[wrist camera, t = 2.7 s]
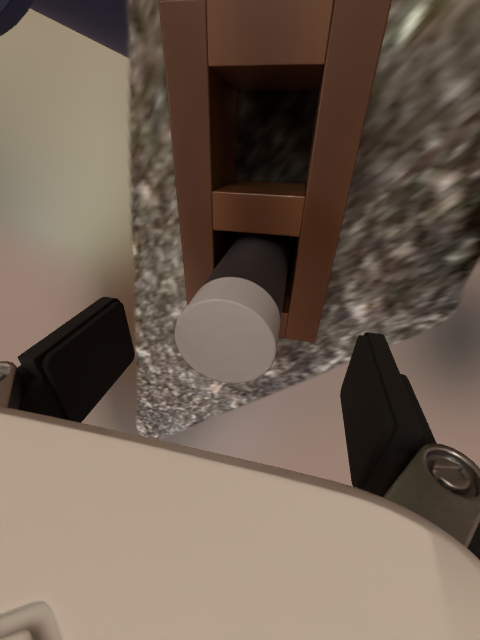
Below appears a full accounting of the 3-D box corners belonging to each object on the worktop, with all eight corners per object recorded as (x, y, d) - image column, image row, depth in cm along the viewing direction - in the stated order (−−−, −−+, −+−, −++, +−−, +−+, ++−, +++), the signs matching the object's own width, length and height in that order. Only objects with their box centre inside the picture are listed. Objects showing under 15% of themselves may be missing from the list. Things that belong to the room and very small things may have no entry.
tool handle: (239, 266, 22) (179, 375, 12) (240, 215, 20) (168, 293, 9) (287, 271, 22) (271, 391, 11) (294, 219, 20) (282, 306, 9)
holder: (212, 288, 24) (188, 325, 19) (204, 45, 16) (157, -2, 11) (313, 300, 23) (315, 343, 18) (364, 41, 14) (395, -15, 9)
